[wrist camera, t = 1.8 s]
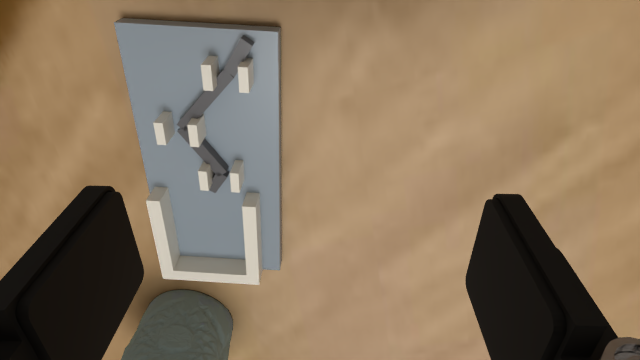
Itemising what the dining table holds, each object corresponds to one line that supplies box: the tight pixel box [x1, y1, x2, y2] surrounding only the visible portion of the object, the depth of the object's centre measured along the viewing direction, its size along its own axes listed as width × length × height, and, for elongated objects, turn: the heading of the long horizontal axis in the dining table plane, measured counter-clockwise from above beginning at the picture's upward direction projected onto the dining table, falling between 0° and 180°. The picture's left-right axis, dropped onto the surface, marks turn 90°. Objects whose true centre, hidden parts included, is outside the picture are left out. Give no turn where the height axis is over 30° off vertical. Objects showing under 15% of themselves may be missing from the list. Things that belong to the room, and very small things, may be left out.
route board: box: [114, 18, 282, 285], centre depth 31 cm, size 20×10×3 cm, turn 177°
